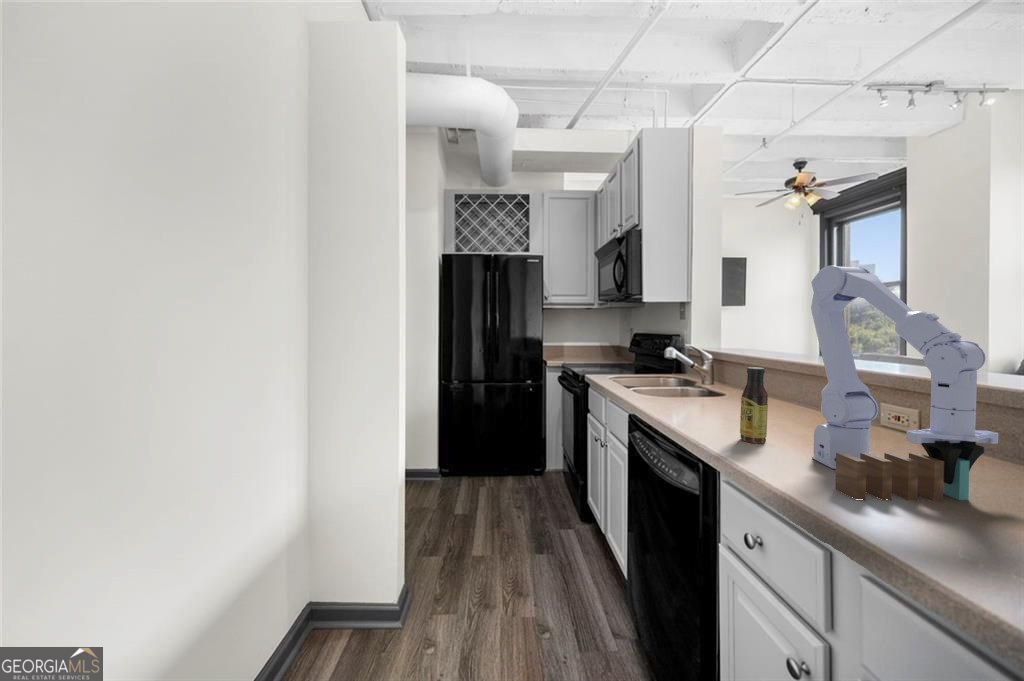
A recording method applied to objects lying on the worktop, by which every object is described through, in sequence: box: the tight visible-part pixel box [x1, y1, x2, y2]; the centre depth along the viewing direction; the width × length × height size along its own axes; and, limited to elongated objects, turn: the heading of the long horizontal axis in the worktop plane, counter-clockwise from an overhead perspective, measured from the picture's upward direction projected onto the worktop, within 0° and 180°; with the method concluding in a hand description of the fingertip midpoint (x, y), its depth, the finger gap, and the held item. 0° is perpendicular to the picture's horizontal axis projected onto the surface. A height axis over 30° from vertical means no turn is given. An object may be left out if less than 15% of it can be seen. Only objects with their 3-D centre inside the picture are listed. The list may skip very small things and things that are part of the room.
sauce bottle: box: [739, 366, 769, 444], centre depth 113 cm, size 7×6×20 cm
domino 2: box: [860, 452, 892, 501], centre depth 77 cm, size 2×5×7 cm, turn 179°
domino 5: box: [943, 458, 970, 501], centre depth 77 cm, size 2×5×7 cm, turn 179°
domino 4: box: [908, 452, 944, 501], centre depth 77 cm, size 2×5×7 cm, turn 179°
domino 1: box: [834, 453, 867, 501], centre depth 77 cm, size 2×5×7 cm, turn 179°
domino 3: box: [883, 452, 918, 501], centre depth 77 cm, size 2×5×7 cm, turn 179°
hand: (950, 482), depth 77 cm, fingers closed on domino 5, 2 cm apart
